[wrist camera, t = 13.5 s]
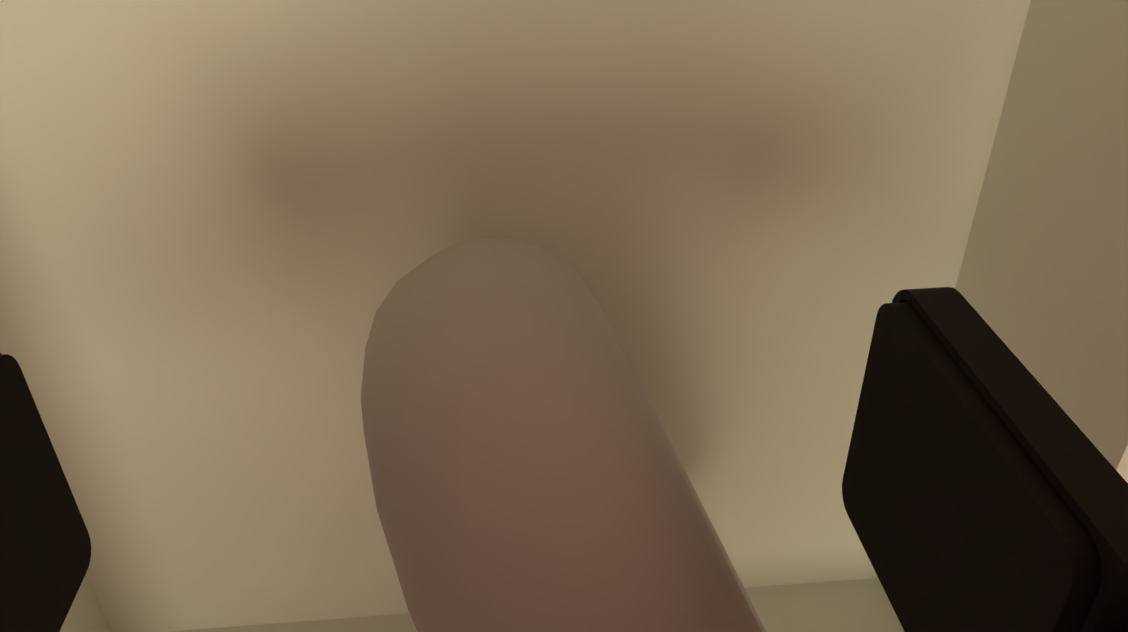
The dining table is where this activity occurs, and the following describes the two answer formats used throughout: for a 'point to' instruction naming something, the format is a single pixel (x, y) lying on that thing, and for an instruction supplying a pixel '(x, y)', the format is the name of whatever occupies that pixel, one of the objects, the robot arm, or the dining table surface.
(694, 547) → the donut
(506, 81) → the bin
